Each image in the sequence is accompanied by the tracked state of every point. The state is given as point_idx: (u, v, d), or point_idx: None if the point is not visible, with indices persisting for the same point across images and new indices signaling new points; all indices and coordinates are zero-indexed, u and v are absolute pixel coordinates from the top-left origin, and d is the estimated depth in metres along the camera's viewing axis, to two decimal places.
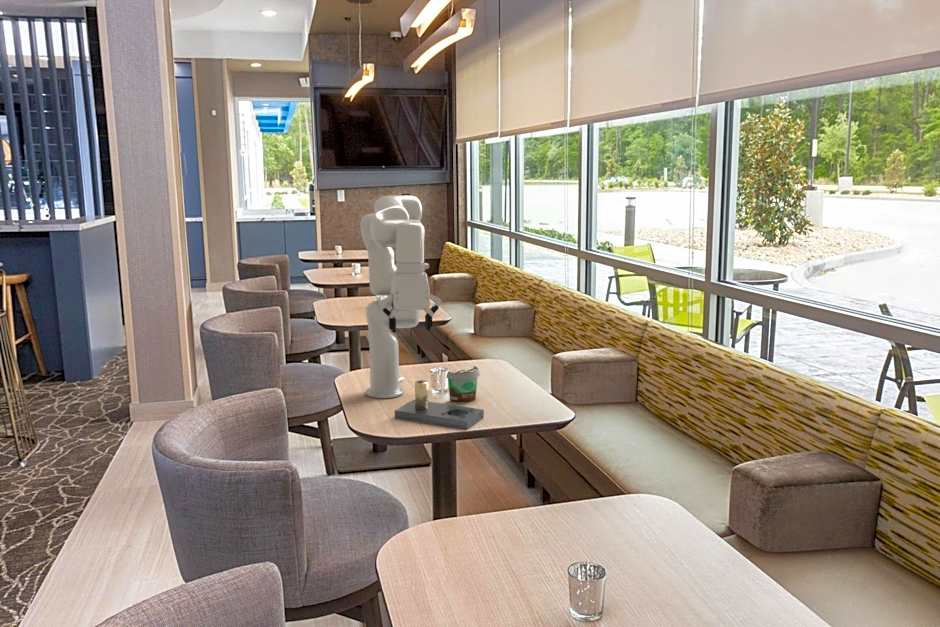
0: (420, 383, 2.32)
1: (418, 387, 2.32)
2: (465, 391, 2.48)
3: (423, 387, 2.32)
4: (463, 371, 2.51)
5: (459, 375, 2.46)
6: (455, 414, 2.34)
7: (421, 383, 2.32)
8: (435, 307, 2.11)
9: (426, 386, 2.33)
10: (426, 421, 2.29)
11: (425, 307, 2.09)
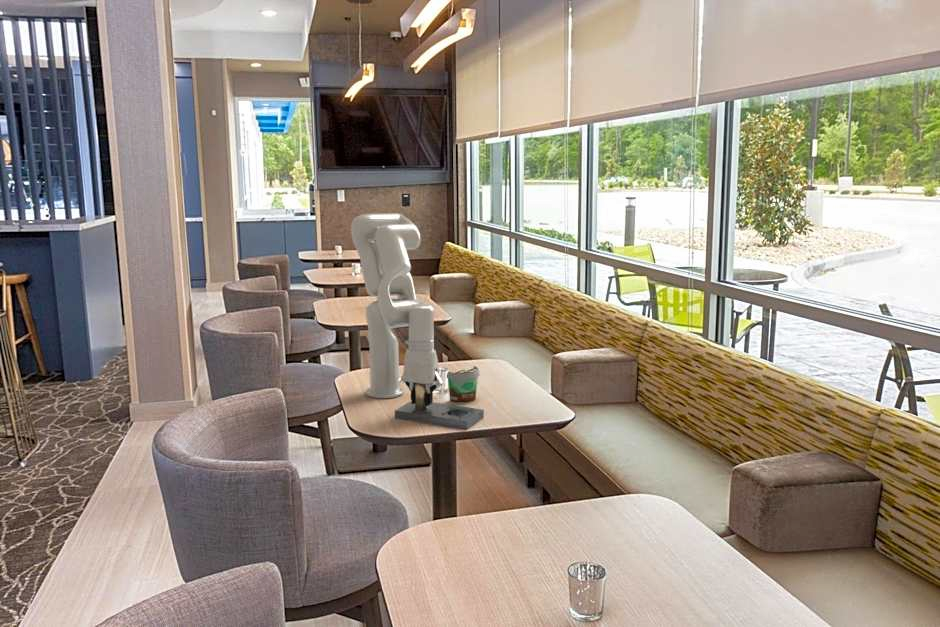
0: None
1: (418, 387, 2.32)
2: (465, 391, 2.48)
3: (423, 387, 2.32)
4: (463, 371, 2.51)
5: (459, 375, 2.46)
6: (455, 414, 2.34)
7: None
8: None
9: None
10: (426, 421, 2.29)
11: None
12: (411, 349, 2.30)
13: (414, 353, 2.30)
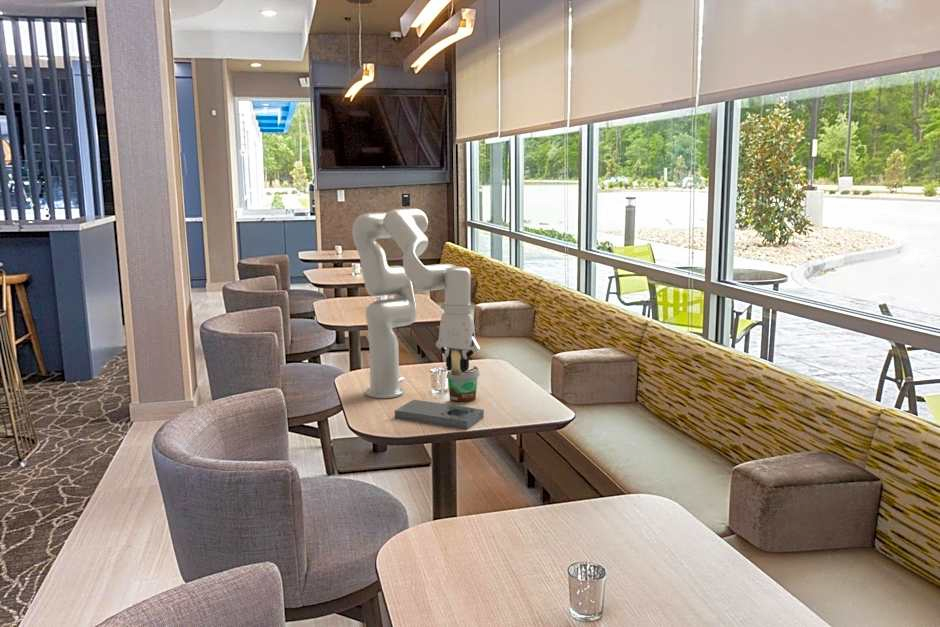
0: None
1: (454, 353, 2.25)
2: (465, 391, 2.48)
3: (459, 353, 2.25)
4: None
5: None
6: (455, 414, 2.34)
7: None
8: None
9: None
10: (426, 421, 2.29)
11: None
12: (447, 313, 2.22)
13: (450, 317, 2.23)
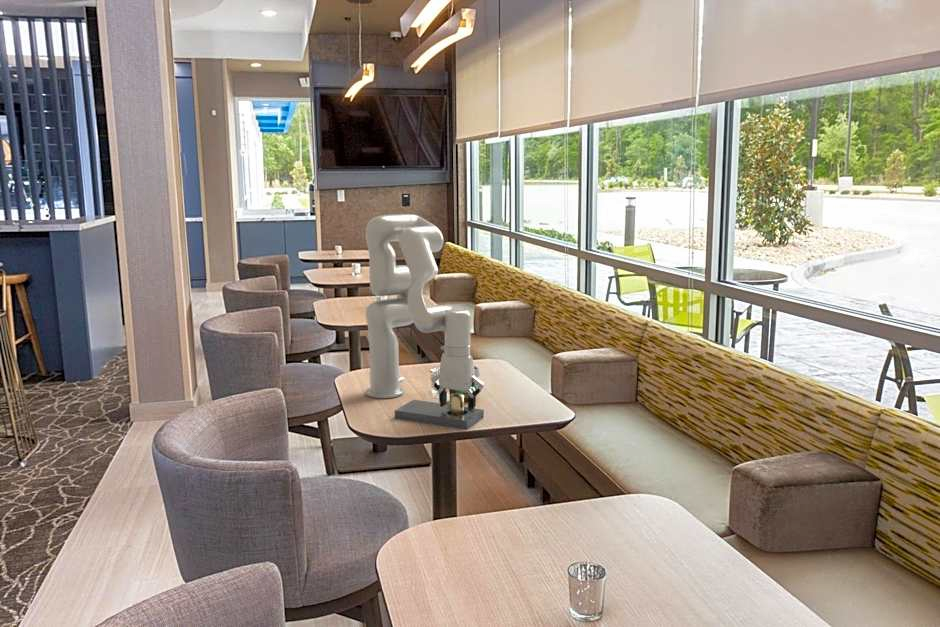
0: (456, 396, 2.28)
1: (454, 401, 2.28)
2: (465, 391, 2.48)
3: (459, 400, 2.28)
4: None
5: None
6: None
7: (457, 396, 2.28)
8: None
9: (462, 399, 2.29)
10: (426, 421, 2.29)
11: None
12: (447, 355, 2.25)
13: (450, 359, 2.25)
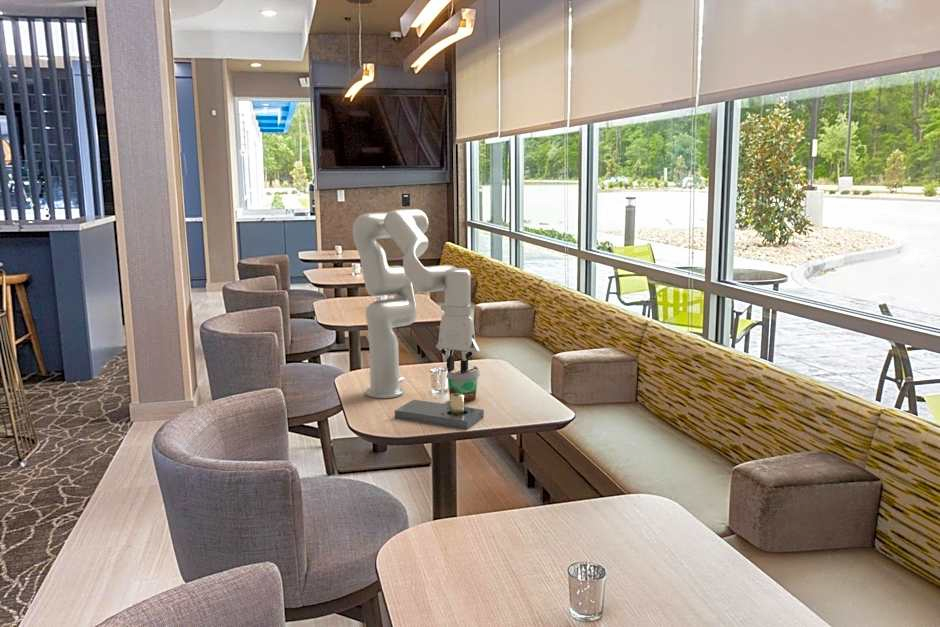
0: (456, 396, 2.28)
1: (454, 401, 2.28)
2: (465, 391, 2.48)
3: (459, 400, 2.28)
4: None
5: (459, 375, 2.46)
6: None
7: (457, 396, 2.28)
8: None
9: (462, 399, 2.29)
10: (426, 421, 2.29)
11: None
12: (447, 314, 2.23)
13: (450, 319, 2.23)
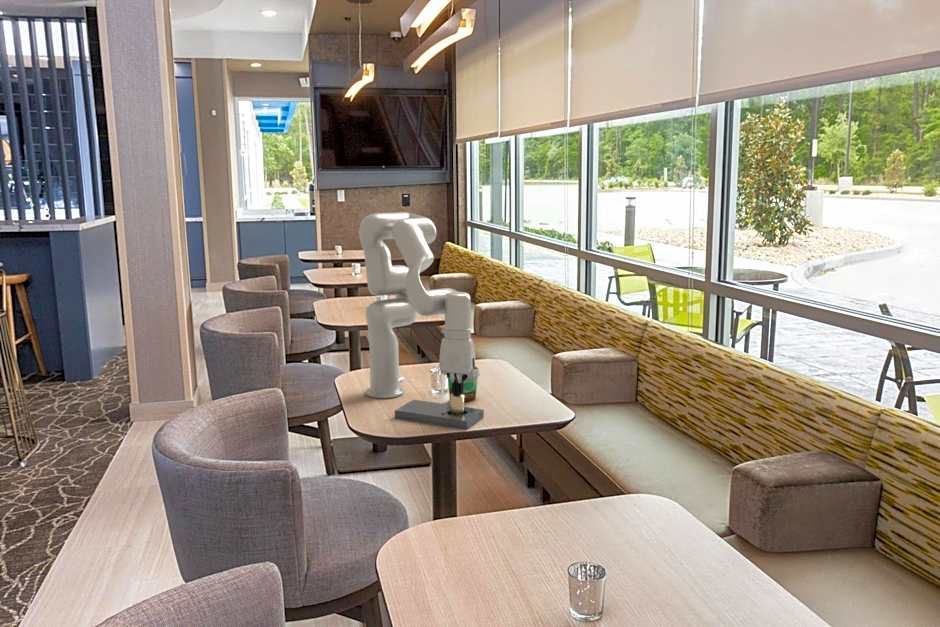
0: (456, 396, 2.28)
1: (454, 401, 2.28)
2: (465, 391, 2.48)
3: (459, 400, 2.28)
4: None
5: None
6: None
7: (457, 396, 2.28)
8: None
9: (462, 399, 2.29)
10: (426, 421, 2.29)
11: None
12: (447, 338, 2.24)
13: (450, 342, 2.24)
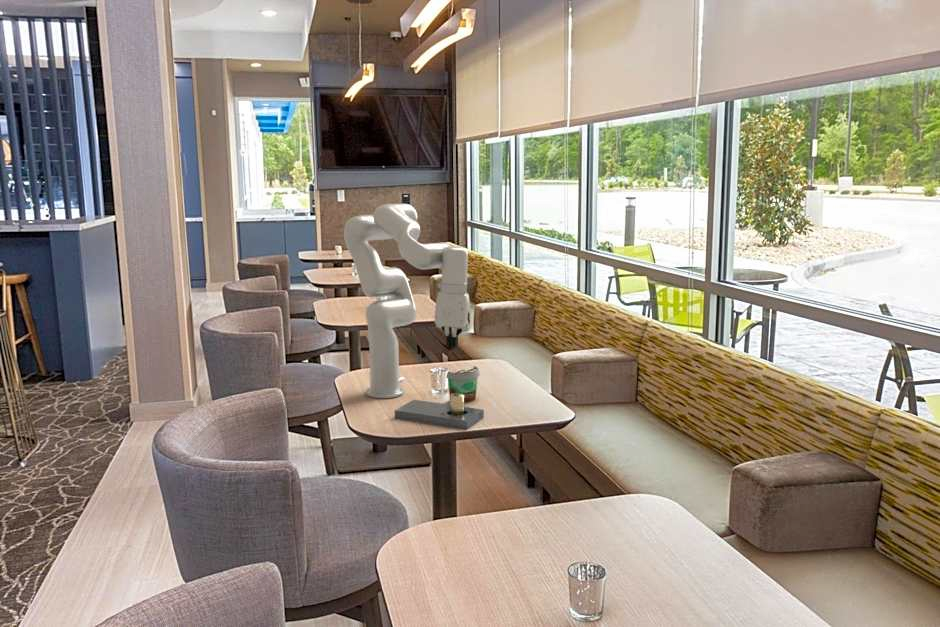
0: (456, 396, 2.28)
1: (454, 401, 2.28)
2: (465, 391, 2.48)
3: (459, 400, 2.28)
4: (463, 371, 2.51)
5: (459, 375, 2.46)
6: None
7: (457, 396, 2.28)
8: None
9: (462, 399, 2.29)
10: (426, 421, 2.29)
11: None
12: (444, 292, 2.25)
13: (446, 296, 2.26)
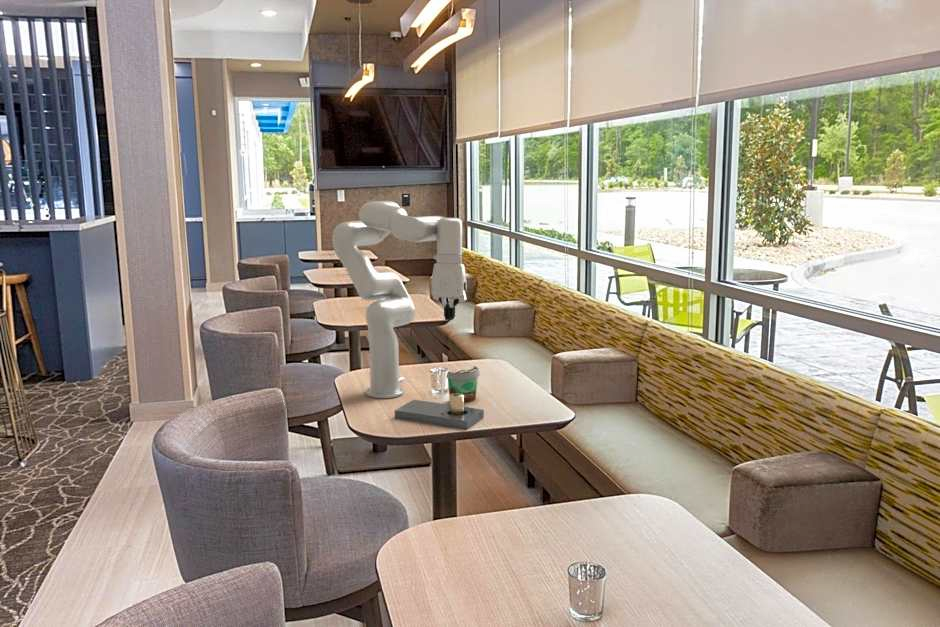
0: (456, 396, 2.28)
1: (454, 401, 2.28)
2: (465, 391, 2.48)
3: (459, 400, 2.28)
4: (463, 371, 2.51)
5: (459, 375, 2.46)
6: None
7: (457, 396, 2.28)
8: None
9: (462, 399, 2.29)
10: (426, 421, 2.29)
11: None
12: (439, 262, 2.29)
13: (442, 267, 2.29)
